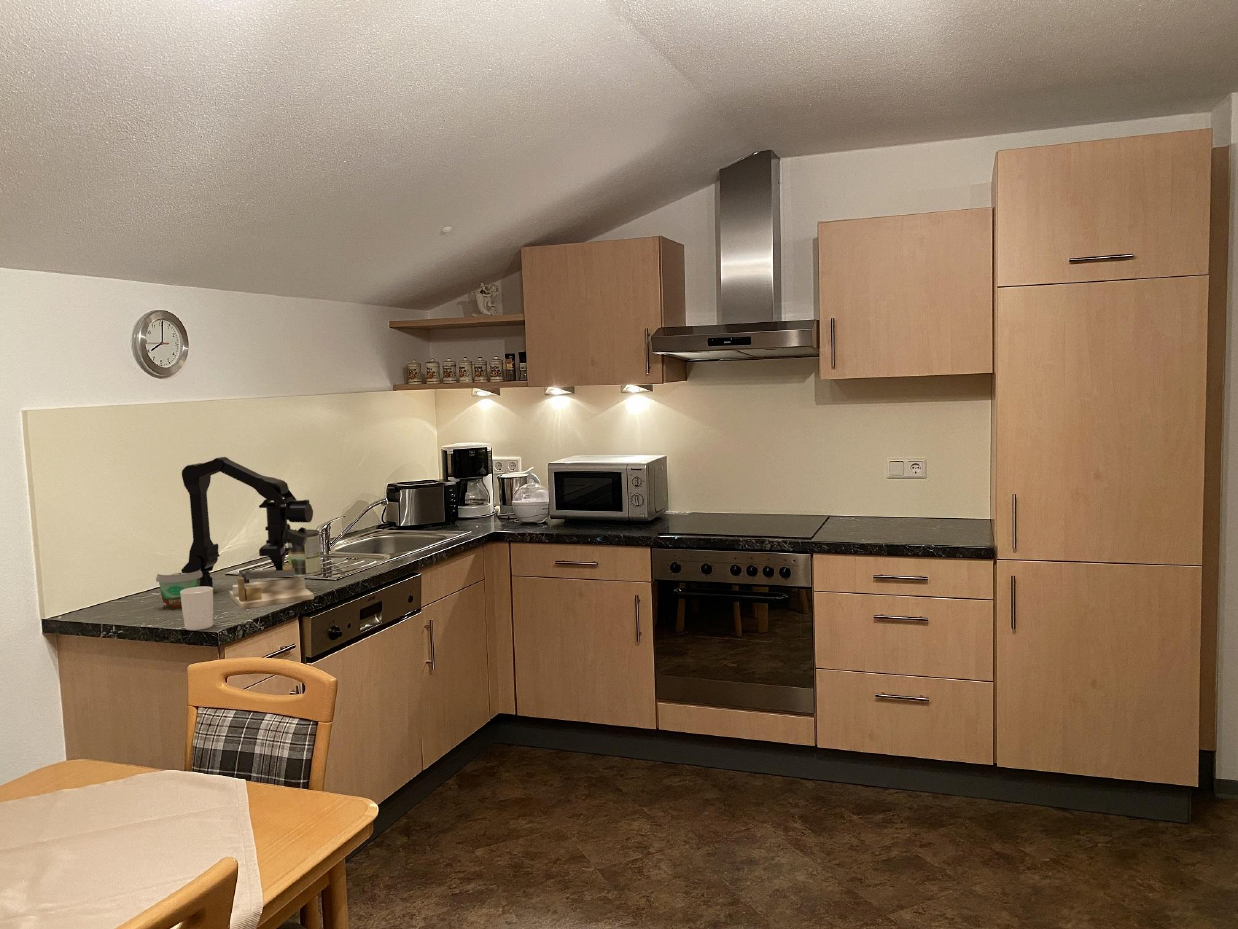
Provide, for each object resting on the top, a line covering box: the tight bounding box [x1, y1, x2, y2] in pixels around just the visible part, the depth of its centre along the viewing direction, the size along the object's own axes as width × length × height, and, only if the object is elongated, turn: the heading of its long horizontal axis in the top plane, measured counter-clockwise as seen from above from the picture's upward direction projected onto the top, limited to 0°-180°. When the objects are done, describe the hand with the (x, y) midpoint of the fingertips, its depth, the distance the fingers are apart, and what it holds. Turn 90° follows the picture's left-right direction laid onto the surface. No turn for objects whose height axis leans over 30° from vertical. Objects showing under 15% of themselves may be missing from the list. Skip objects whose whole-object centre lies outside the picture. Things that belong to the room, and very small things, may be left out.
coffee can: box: [287, 529, 322, 578], centre depth 316 cm, size 10×10×14 cm
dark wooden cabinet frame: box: [237, 563, 295, 580], centre depth 285 cm, size 16×3×4 cm, turn 103°
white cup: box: [180, 587, 214, 631], centre depth 250 cm, size 8×8×10 cm
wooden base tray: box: [228, 576, 315, 610], centre depth 282 cm, size 20×20×8 cm
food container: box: [155, 570, 203, 610], centre depth 273 cm, size 12×6×10 cm, turn 114°
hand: (280, 572), depth 288 cm, fingers closed
